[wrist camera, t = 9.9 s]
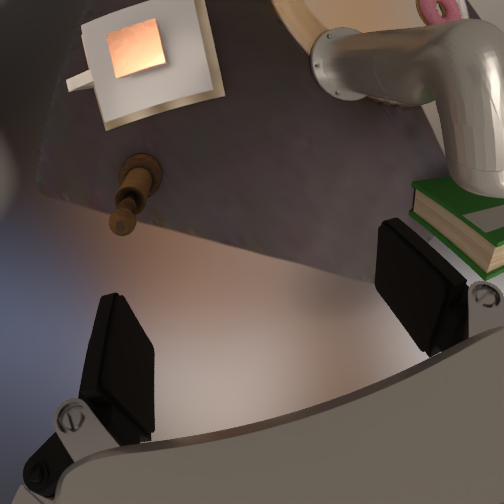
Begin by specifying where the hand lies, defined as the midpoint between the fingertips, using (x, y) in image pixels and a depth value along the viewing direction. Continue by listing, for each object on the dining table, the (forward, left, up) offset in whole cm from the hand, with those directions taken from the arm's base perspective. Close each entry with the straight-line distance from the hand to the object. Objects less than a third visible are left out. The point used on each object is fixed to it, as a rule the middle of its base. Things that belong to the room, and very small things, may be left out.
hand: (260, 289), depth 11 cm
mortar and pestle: (+11, +5, -38) cm, 40 cm away
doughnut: (-46, -18, -39) cm, 63 cm away
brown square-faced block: (+4, -11, -35) cm, 37 cm away
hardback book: (-46, +22, -38) cm, 64 cm away
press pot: (+6, -11, -37) cm, 39 cm away
